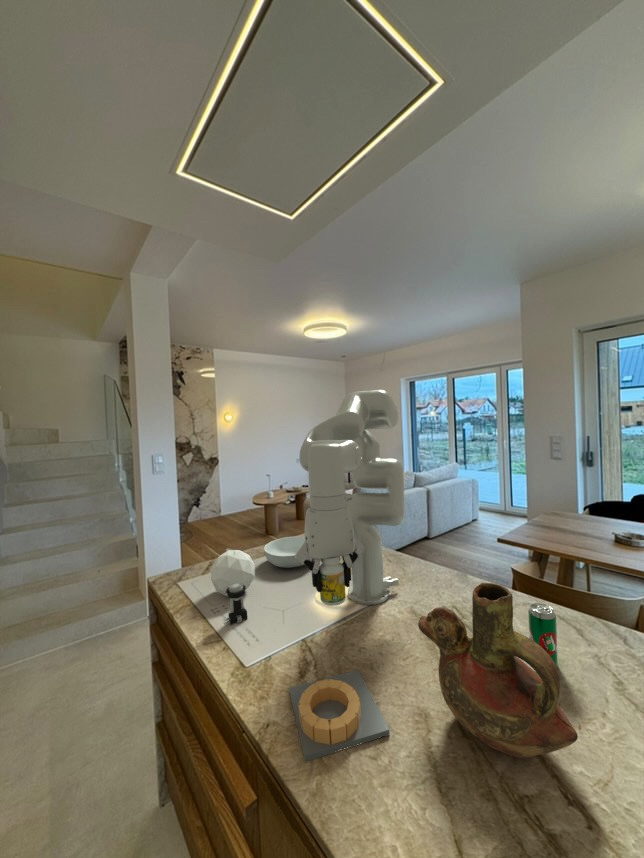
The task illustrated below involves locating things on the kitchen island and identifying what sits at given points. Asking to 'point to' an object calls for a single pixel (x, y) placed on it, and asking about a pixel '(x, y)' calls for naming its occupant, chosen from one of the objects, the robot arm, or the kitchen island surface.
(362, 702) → the plate
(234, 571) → the geodesic sphere
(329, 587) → the supplement bottle
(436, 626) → the ceramic vessel
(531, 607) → the soda can
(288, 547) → the serving bowl
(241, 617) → the push button
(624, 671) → the kitchen island surface
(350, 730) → the collar
